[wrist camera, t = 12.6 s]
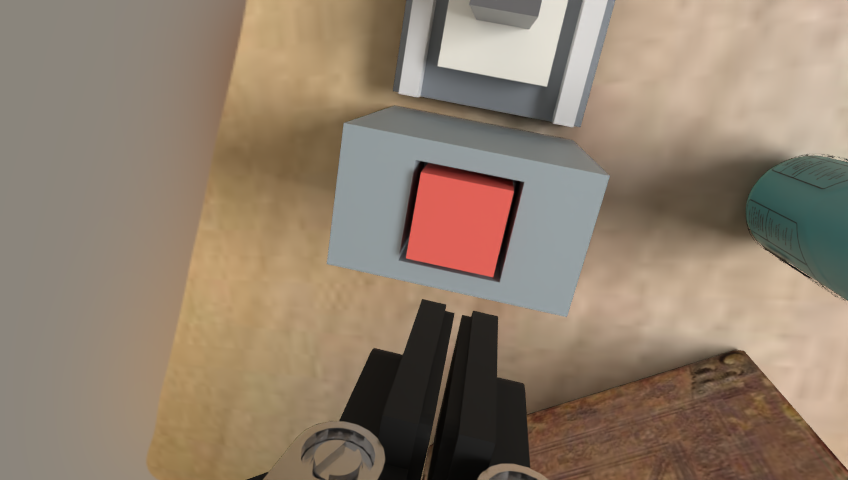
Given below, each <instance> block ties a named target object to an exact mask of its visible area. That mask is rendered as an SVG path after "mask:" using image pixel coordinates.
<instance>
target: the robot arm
mask: <svg viewBox="0 0 848 480" xmlns="http://www.w3.org/2000/svg"><path fill="white" fill-rule="evenodd" d="M445 309H446V304H441V303H437V302H432V301H428V300H424V299H422V301H421V304H420V307H419V310H418V313H417V316H416V319H415V322H414V325H413V328H412V330H411V333H410V336H409V339H408V342H407V345H406V348H405V351H404V354H403V355H401V354H397V353H393V352H388V351H384V350H380V349H376V348H374V349H372V351H371V353H370V355H369V357H368V360H367V362H366V364H365V366H364V368H363V370H362V373H361V375H360V377H359V379H358V381H357V384H356V386H355V388H354V390H353V392H352V394H351V397H350V399H349V401H348V403H347V405H346V407H345V410H344V412H343V414H342V416H341V418H340V420H339V421H330V422H325V423H320V424H316V425H314V426H312V427H310V428H308V429H306V430H305V431H304V432H303V433H301V434H300V435H299V436H298V437H297V438H296V439H295V440H294V442H293V443H292V444H291V445H290V447H289V448H288V449H287V450H286V452H285V453H284V454H283V455H282V456H281V458H280V459H279V460H278V461H277V463H276V464H275V465H274V466H273V468H272V469H271V470H270V471H269V472H266V473H264V474H261V475H258V476H255V477H253V478H250V479H247V480H421V476H422V471H423V467H424V462H425V458H426V453H427V449H428V445H429V440H430V435H431V431H432V426H433V421H434V416H435V411H436V406H437V401H438V396H439V390H440V385H441V380H442V375H443V370H444V365H445V360H446V354H447V349H448V344H449V339H450V334H451V329H452V324H453V318H454V313H451V312H447V311H445ZM497 340H498V316H494V315H489V314H485V313H481V312H476V311H473V313H472V316H471V317H469V316H464V315H462V318H461V322H460V326H459V331H458V335H457V339H456V344H455V348H454V353H453V357H452V361H451V366H450V370H449V374H448V379H447V383H446V387H445V392H444V396H443V401H442V405H441V409H440V414H439V418H438V423H437V428H436V433H435V438H434V444H433V449H432V455H431V460H430V466H429V471H428V477H427V480H549V479H547V478H546V477H545V476H543V475H542V474H540V473H538V472H536V471H534V470H532V469H530V456H529V441H528V427H527V412H526V398H525V387H524V384H523V383H519V382H515V381H511V380H506V379H502V378H498V377H497Z"/></svg>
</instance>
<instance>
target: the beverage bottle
mask: <svg viewBox="0 0 848 480" xmlns="http://www.w3.org/2000/svg"><path fill="white" fill-rule="evenodd" d="M801 156H803V155H801ZM828 157H832V158H834V157H835V156H828ZM828 157H823V156H808V154H806V156H803V157H799V156H798V158H795V157H794V159H793V158H791V160H790V159H789V160H786V161H784V162H782V163H780V164H778V165H776V166H774V167H773V168H771V169H770V170H768V171H767V172H766V173H765V174H764V175H763V176H762V177H761V178H760V179H759V180H758V181H757V182H756V184H755V185H754V187H753V188H752V190H751V192H750V194H749V196H748V200H747V204H746V221H747V223H748V224H747V226H749V228H750V229H749V228H748V230H751V232H752V234H753V236H754V237H755V238H756V240H757V242H759V243H760V244H761V245H762V246H763V247H764V250H766V251H769V252H770V253H772V254H773V256H774V255H775V257H777V258H779V259H781V260H782V261H783V263H784V262H785V263H786V264H788V265H789V266H791V267H792V268H794V270H795V269H796V270H797V271H799V272H800V273H802V274H803V275H804V276H805V277H808V278H809V279H810V278H811V277H812V278H811V279H812V281H813V278H814V279H815V280H817V281H818V282H819V283H820V285H819V284H817V285H818V286H821V285H822V284H823V285H824V286H826V288H827V287H828V288H829V289H831V291H830V292H832V291H834V292H835V293H836V295H837V294H838V295H839V296H841V297H843V298H844V299H846V300H848V162H847V161H846V162H844V161H840V160H836V159H832V158H828ZM838 158H840V157H838ZM840 159H841V158H840ZM844 159H845V158H844ZM845 160H848V159H845ZM749 232H750V231H749ZM752 238H753V237H752ZM754 241H755V240H754ZM761 245H760V246H761ZM769 252H768V253H769ZM781 260H780V261H781ZM788 262H789V263H790V264H789V263H788ZM791 264H792V265H794V266H795V267H794V266H792V265H791ZM796 267H797V268H798V269H800V270H801V271H803V272H804V273H806V274H807V275H806V274H804V273H803V272H801V271H800V270H798V269H797V268H796ZM808 275H809V276H811V277H809V276H808ZM818 282H815V284H816V283H818ZM823 285H822V287H824V286H823ZM824 288H825V287H824ZM826 288H825V290H826ZM826 291H828V292H829V290H826ZM831 294H832V293H831ZM836 295H835V296H836ZM838 298H839V297H838ZM840 299H841V298H840ZM844 299H843V300H844Z"/></svg>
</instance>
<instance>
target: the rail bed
mask: <svg viewBox="0 0 848 480" xmlns="http://www.w3.org/2000/svg"><path fill="white" fill-rule="evenodd" d="M448 3H449V0H406V6H405V13H404V20H403V27H402V33H401V40H400V47H399V53H398V60H397V67H396V74H395V80H394V87H393V91H395V92H399V94H402V95H408V96H413V97H420V96H421V97H426V98H431V99H436V100H441V101H447V102H452V103H457V104H462V105H467V106H473V107H478V108H483V109H488V110H493V111H499V112H504V113H509V114H514V115H519V116H524V117H530V118H535V119H540V120H545V121H550V122H552V123H553V124H558V125H563V126H568V127H574V126H576V127H581V123H582V119H583V116H584V112H585V109H586V105H587V101H588V98H589V94H590V90H591V87H592V83H593V80H594V76H595V72H596V69H597V65H598V61H599V58H600V54H601V50H602V47H603V43H604V40H605V36H606V32H607V29H608V25H609V21H610V18H611V14H612V11H613V7H614V3H615V0H568V3H567V7H566V11H565V15H564V19H563V23H562V27H561V31H560V36H559V40H558V44H557V48H556V52H555V56H554V60H553V64H552V68H551V72H550V76H549V80H548V84H547V87H546V86H541V85H535V84H530V83H525V82H519V81H514V80H509V79H503V78H498V77H493V76H487V75H482V74H477V73H471V72H466V71H461V70H455V69H450V68H445V67H439V66H438V60H439V55H440V49H441V43H442V37H443V32H444V26H445V20H446V14H447V9H448Z"/></svg>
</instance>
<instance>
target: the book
mask: <svg viewBox="0 0 848 480" xmlns="http://www.w3.org/2000/svg"><path fill="white" fill-rule="evenodd" d="M527 427H528V441H529V456H530V469H532V470H534V471H536V472H538V473H540V474H542V475H543V476H545V477H546V478H547V479H549V480H848V470H847V469H846V467H845V466H844V465H843V464H842V463H841V462H840V461H839V459H838V458H837V457H836V456H835V455H834V454H833V453H832V451H831V450H830V449H829V448H828V447H827V446H826V444H825V443H824V442H823V441H822V440H821V439H820V438H819V436H818V435H817V434H816V433H815V432H814V431H813V430H812V428H811V427H810V426H809V425H808V424H807V423H806V422H805V420H804V419H803V418H802V417H801V416H800V415H799V413H798V412H797V411H796V410H795V409H794V408H793V407H792V405H791V404H790V403H789V402H788V401H787V400H786V399H785V397H784V396H783V395H782V394H781V393H780V392H779V390H778V389H777V388H776V387H775V386H774V385H773V384H772V382H771V381H770V380H769V379H768V378H767V377H766V376H765V374H764V373H763V372H762V371H761V370H760V369H759V367H758V366H757V365H756V364H755V363H754V362H753V361H752V359H751V358H750V357H749V356H748V355H747V354H746V353H745V351H741V350H736V351H731V352H728V353H724V354H721V355H718V356H715V357H711V358H708V359H705V360H702V361H699V362H695V363H692V364H689V365H686V366H683V367H679V368H676V369H673V370H670V371H667V372H663V373H660V374H657V375H654V376H650V377H647V378H644V379H641V380H638V381H634V382H631V383H628V384H625V385H622V386H618V387H615V388H612V389H609V390H606V391H602V392H599V393H596V394H593V395H589V396H586V397H583V398H580V399H577V400H573V401H570V402H567V403H564V404H561V405H557V406H554V407H551V408H548V409H545V410H541V411H538V412H535V413H532V414H528V415H527ZM432 449H433V444H432V445H430V447H429V448H428V453H427V458H426V464H425V469H424V474H423V479H422V480H427V477H428V471H429V466H430V460H431V455H432Z"/></svg>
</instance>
